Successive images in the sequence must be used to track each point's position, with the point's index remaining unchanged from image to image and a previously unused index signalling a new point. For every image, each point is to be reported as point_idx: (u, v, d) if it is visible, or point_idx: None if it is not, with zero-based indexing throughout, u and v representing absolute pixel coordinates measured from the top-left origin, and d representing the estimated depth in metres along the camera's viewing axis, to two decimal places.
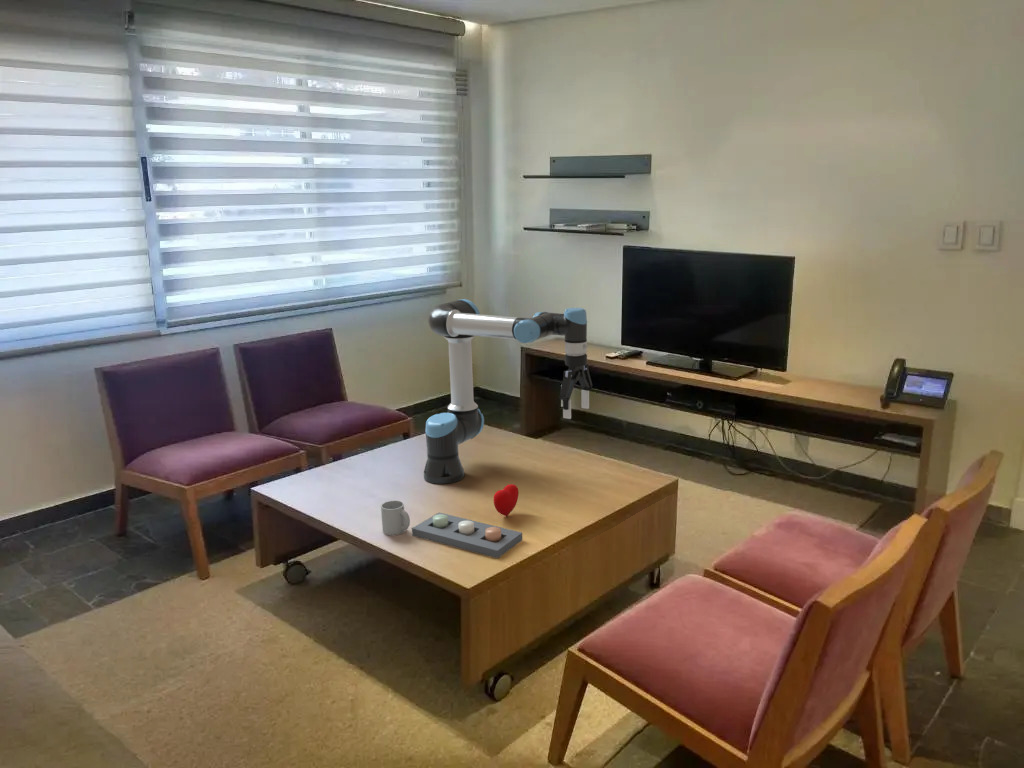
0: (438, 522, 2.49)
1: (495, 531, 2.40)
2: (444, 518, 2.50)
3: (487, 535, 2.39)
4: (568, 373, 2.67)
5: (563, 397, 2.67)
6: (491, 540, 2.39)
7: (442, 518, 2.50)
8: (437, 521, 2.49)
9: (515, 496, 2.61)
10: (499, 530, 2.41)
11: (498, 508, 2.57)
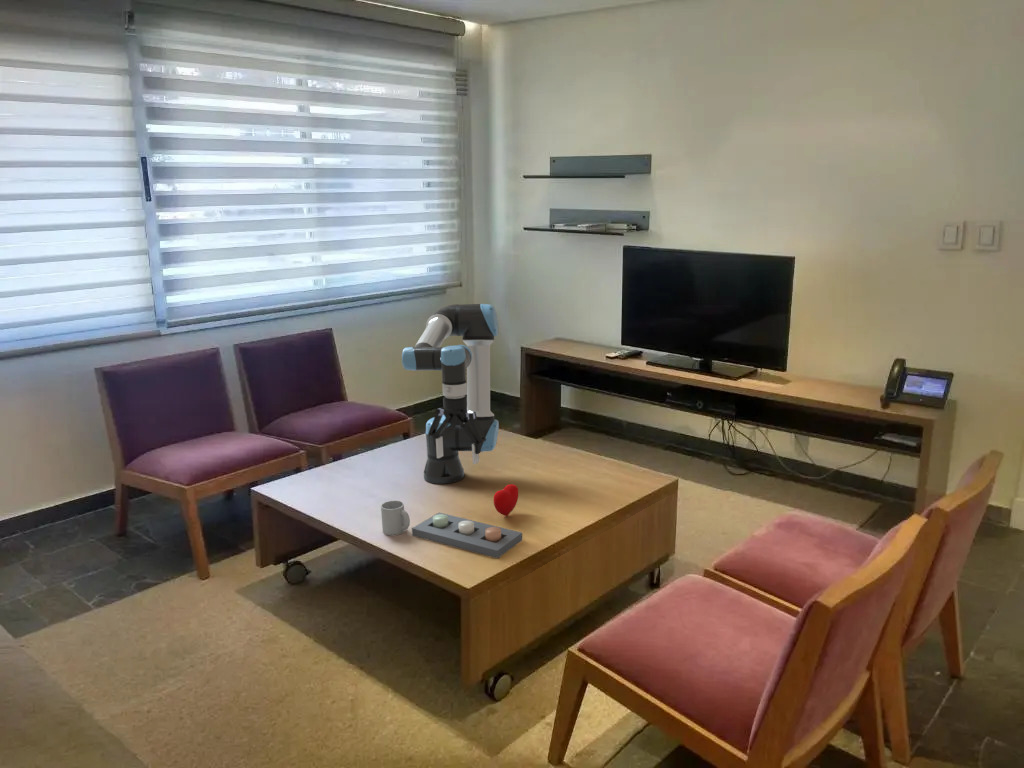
0: (438, 522, 2.49)
1: (495, 531, 2.40)
2: (444, 518, 2.50)
3: (487, 535, 2.39)
4: None
5: None
6: (491, 540, 2.39)
7: (442, 518, 2.50)
8: (437, 521, 2.49)
9: (515, 496, 2.61)
10: (499, 530, 2.41)
11: (498, 508, 2.57)
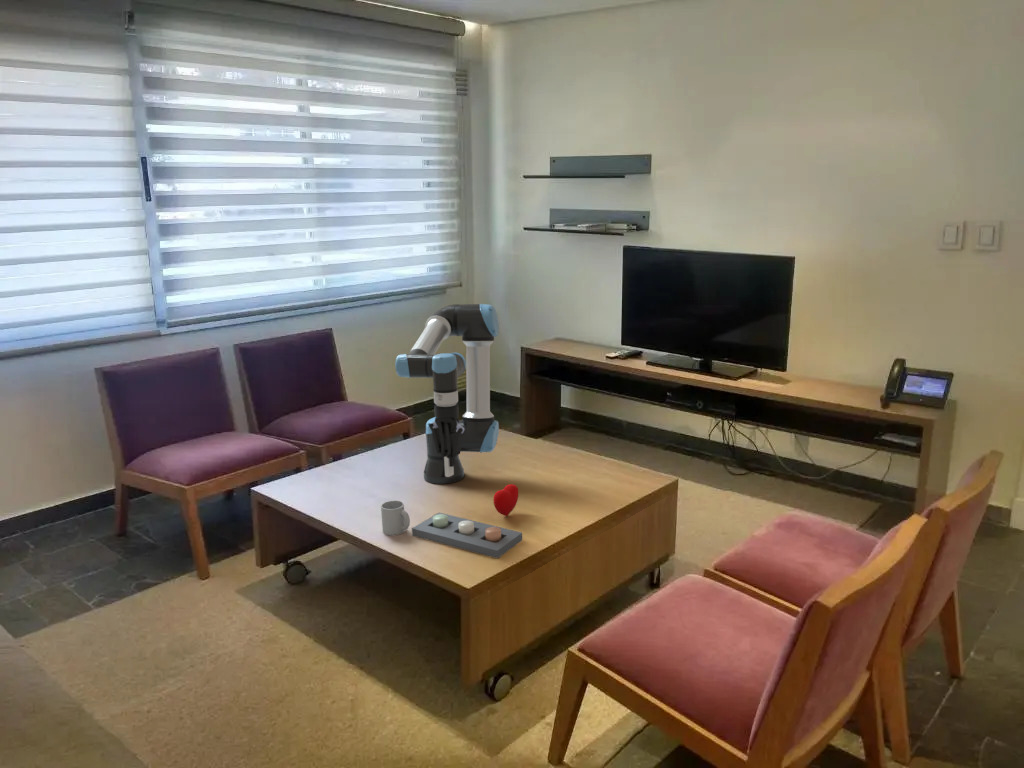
0: (438, 522, 2.49)
1: (495, 531, 2.40)
2: (444, 518, 2.50)
3: (487, 535, 2.39)
4: None
5: None
6: (491, 540, 2.39)
7: (442, 518, 2.50)
8: (437, 521, 2.49)
9: (515, 496, 2.61)
10: (499, 530, 2.41)
11: (498, 508, 2.57)
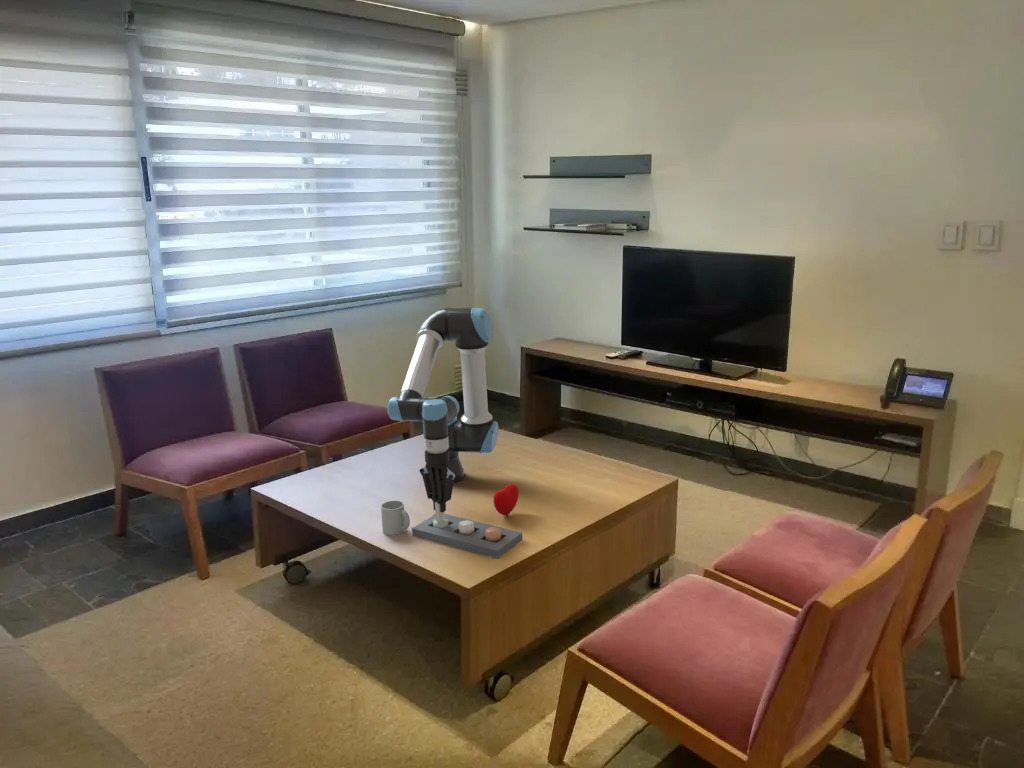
0: (438, 526, 2.49)
1: (495, 531, 2.40)
2: (444, 522, 2.51)
3: (487, 535, 2.39)
4: None
5: None
6: (491, 540, 2.39)
7: (443, 522, 2.50)
8: (437, 525, 2.50)
9: (515, 496, 2.61)
10: (499, 530, 2.41)
11: (498, 508, 2.57)
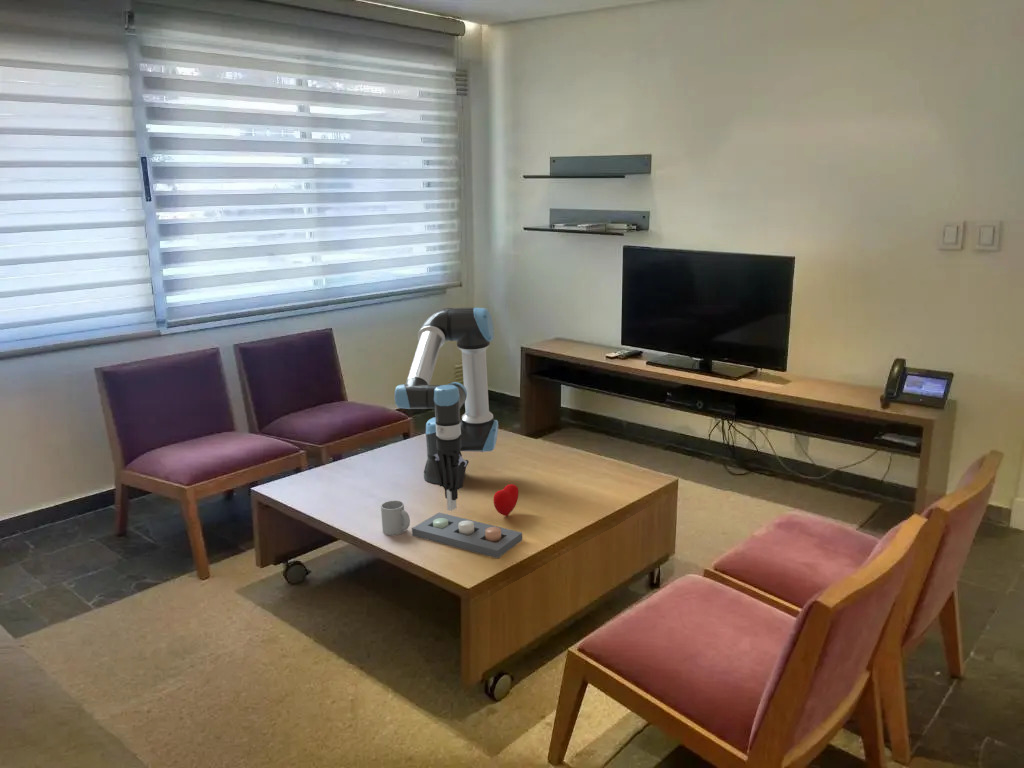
0: (438, 526, 2.49)
1: (495, 531, 2.40)
2: (444, 522, 2.51)
3: (487, 535, 2.39)
4: None
5: None
6: (491, 540, 2.39)
7: (443, 522, 2.50)
8: (437, 525, 2.50)
9: (515, 496, 2.61)
10: (499, 530, 2.41)
11: (498, 508, 2.57)
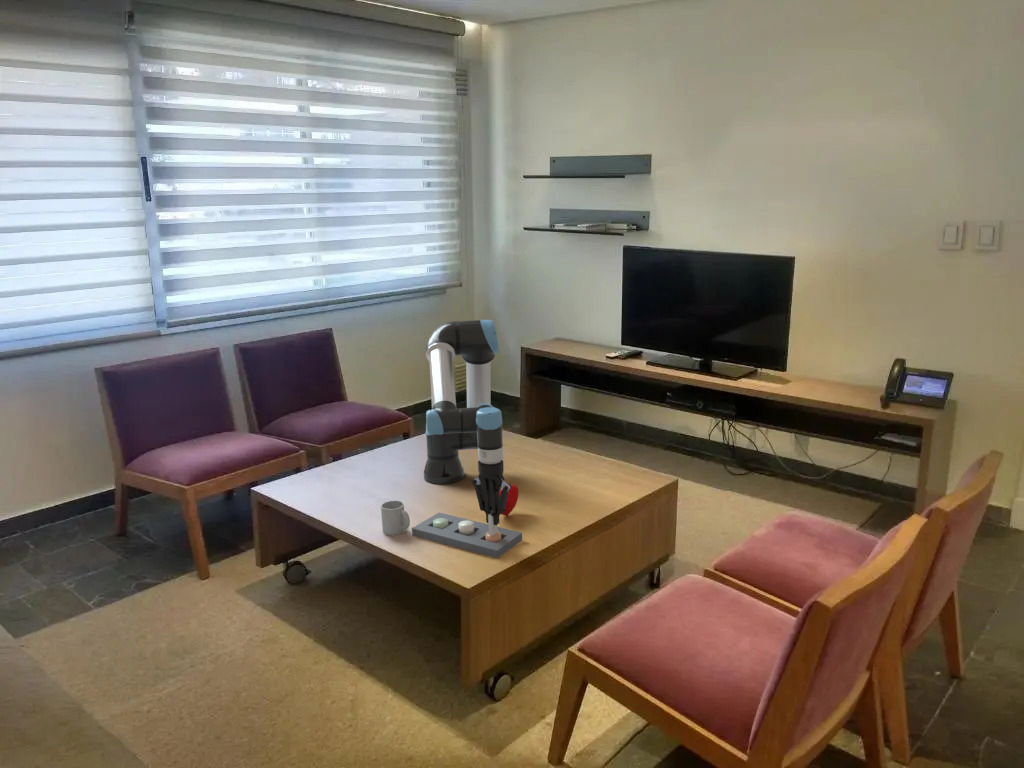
0: (438, 526, 2.49)
1: (495, 535, 2.41)
2: (444, 522, 2.51)
3: (487, 539, 2.40)
4: None
5: None
6: None
7: (443, 522, 2.50)
8: (437, 525, 2.50)
9: (515, 496, 2.61)
10: (499, 534, 2.41)
11: None
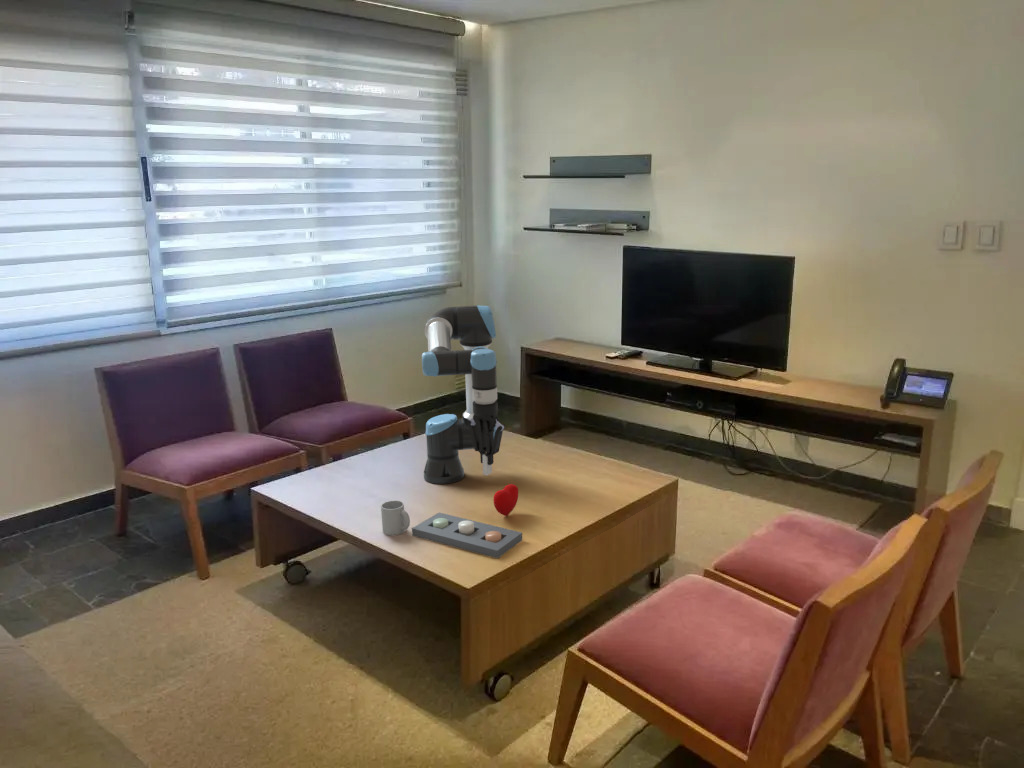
0: (438, 526, 2.49)
1: (495, 535, 2.41)
2: (444, 522, 2.51)
3: (487, 539, 2.40)
4: None
5: None
6: None
7: (443, 522, 2.50)
8: (437, 525, 2.50)
9: (515, 496, 2.61)
10: (499, 534, 2.41)
11: (498, 508, 2.57)
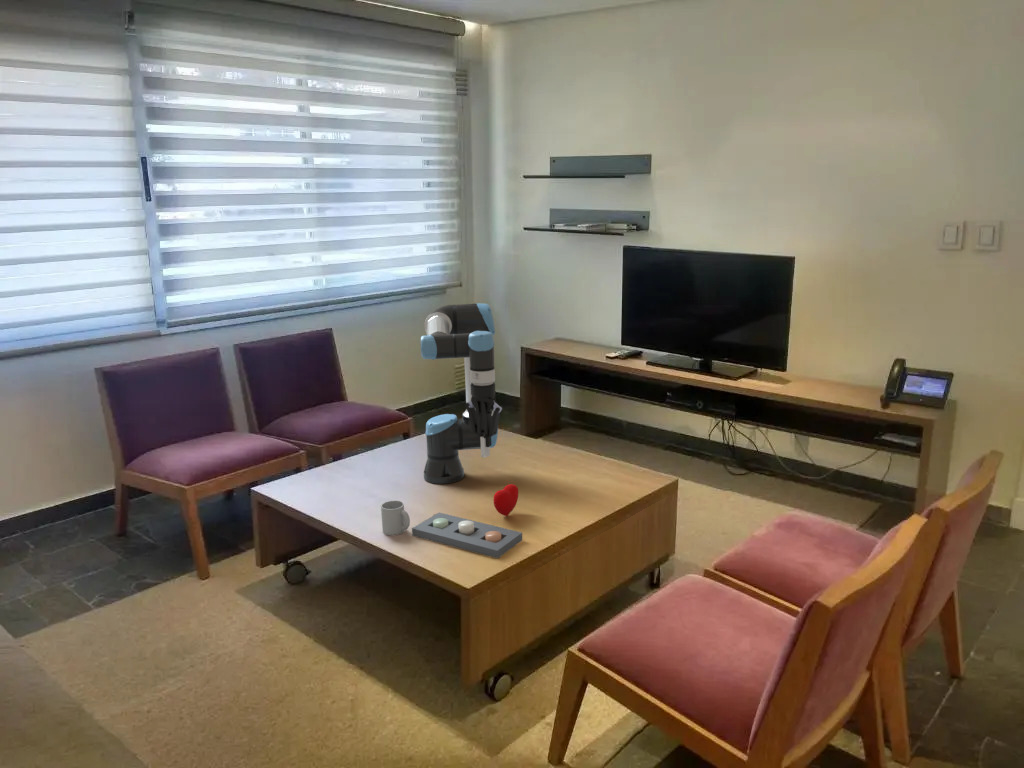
0: (438, 526, 2.49)
1: (495, 535, 2.41)
2: (444, 522, 2.51)
3: (487, 539, 2.40)
4: None
5: None
6: None
7: (443, 522, 2.50)
8: (437, 525, 2.50)
9: (515, 496, 2.61)
10: (499, 534, 2.41)
11: (498, 508, 2.57)
